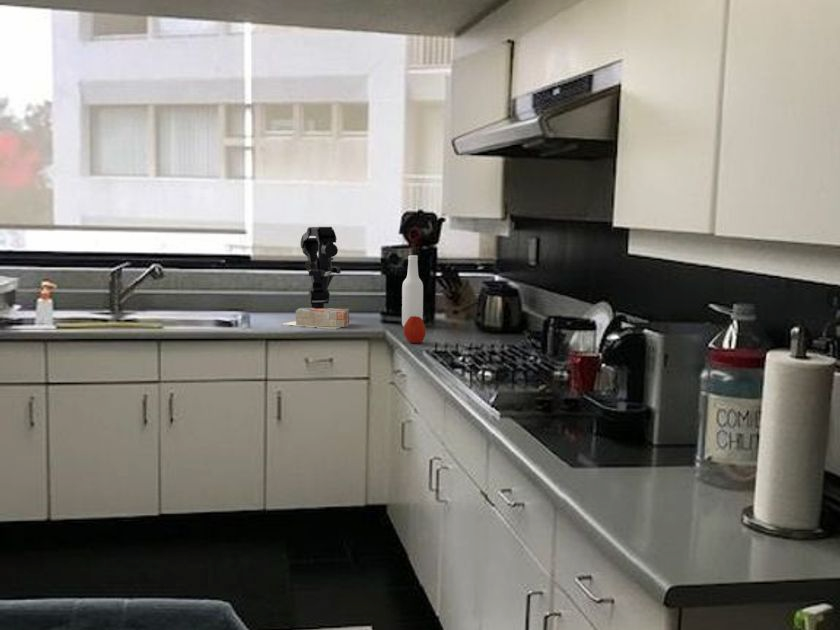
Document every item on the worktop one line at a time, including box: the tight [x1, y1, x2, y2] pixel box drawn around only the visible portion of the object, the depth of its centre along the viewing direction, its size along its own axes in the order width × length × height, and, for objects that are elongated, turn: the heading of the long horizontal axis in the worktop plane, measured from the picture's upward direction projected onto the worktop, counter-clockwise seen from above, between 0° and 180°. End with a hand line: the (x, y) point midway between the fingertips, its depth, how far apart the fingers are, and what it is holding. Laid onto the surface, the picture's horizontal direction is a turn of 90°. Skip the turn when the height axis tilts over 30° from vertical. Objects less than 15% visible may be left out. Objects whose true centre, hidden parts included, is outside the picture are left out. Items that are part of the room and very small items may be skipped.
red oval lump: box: [402, 316, 426, 344], centre depth 342 cm, size 8×8×11 cm
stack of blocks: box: [295, 307, 350, 328], centre depth 385 cm, size 21×6×12 cm
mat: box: [282, 320, 349, 330], centre depth 385 cm, size 12×26×1 cm, turn 67°
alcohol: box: [401, 254, 424, 328], centre depth 383 cm, size 9×9×30 cm
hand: (324, 291), depth 400 cm, fingers closed
